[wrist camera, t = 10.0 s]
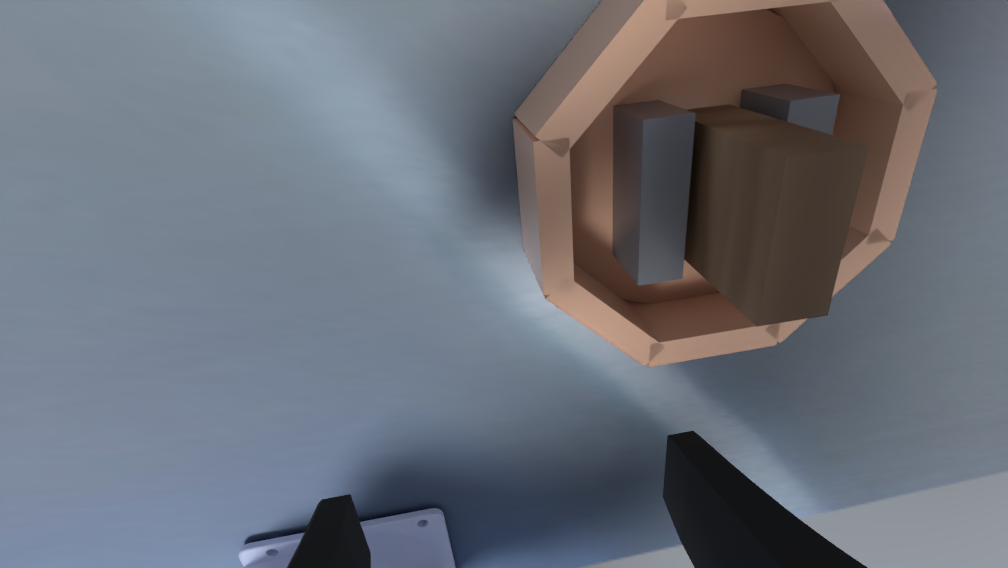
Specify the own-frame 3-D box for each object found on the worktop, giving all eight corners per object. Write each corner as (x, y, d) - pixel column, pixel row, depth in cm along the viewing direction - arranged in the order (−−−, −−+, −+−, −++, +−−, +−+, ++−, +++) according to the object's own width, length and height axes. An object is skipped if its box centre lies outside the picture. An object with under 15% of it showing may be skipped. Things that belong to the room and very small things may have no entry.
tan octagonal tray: (530, 330, 21) (549, 384, 18) (501, -6, 15) (522, -11, 12) (805, 285, 22) (868, 329, 19) (875, -46, 16) (980, -59, 13)
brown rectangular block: (662, 239, 19) (756, 326, 14) (670, 111, 17) (785, 157, 11) (714, 231, 19) (827, 315, 14) (728, 104, 17) (869, 145, 12)
